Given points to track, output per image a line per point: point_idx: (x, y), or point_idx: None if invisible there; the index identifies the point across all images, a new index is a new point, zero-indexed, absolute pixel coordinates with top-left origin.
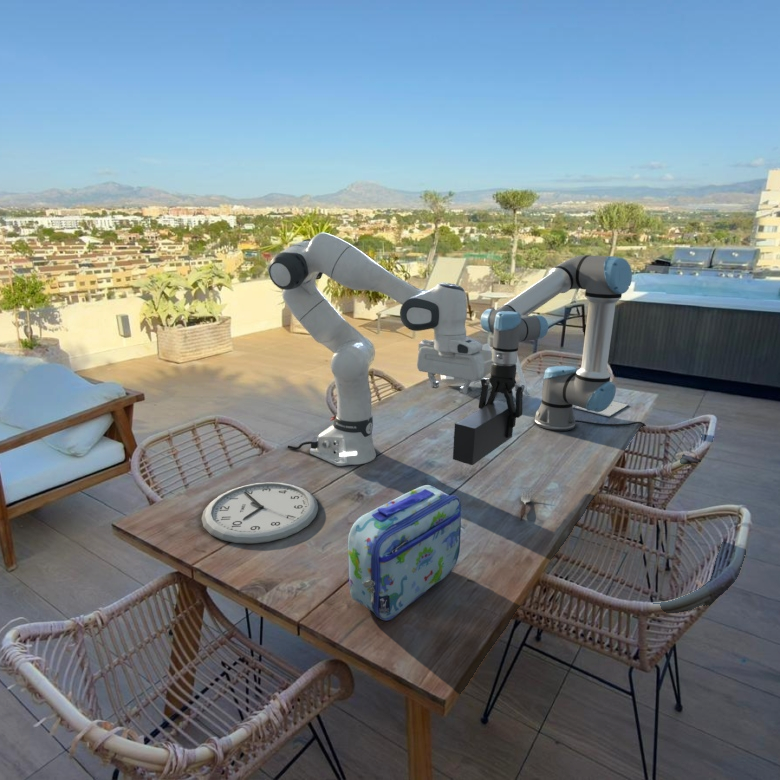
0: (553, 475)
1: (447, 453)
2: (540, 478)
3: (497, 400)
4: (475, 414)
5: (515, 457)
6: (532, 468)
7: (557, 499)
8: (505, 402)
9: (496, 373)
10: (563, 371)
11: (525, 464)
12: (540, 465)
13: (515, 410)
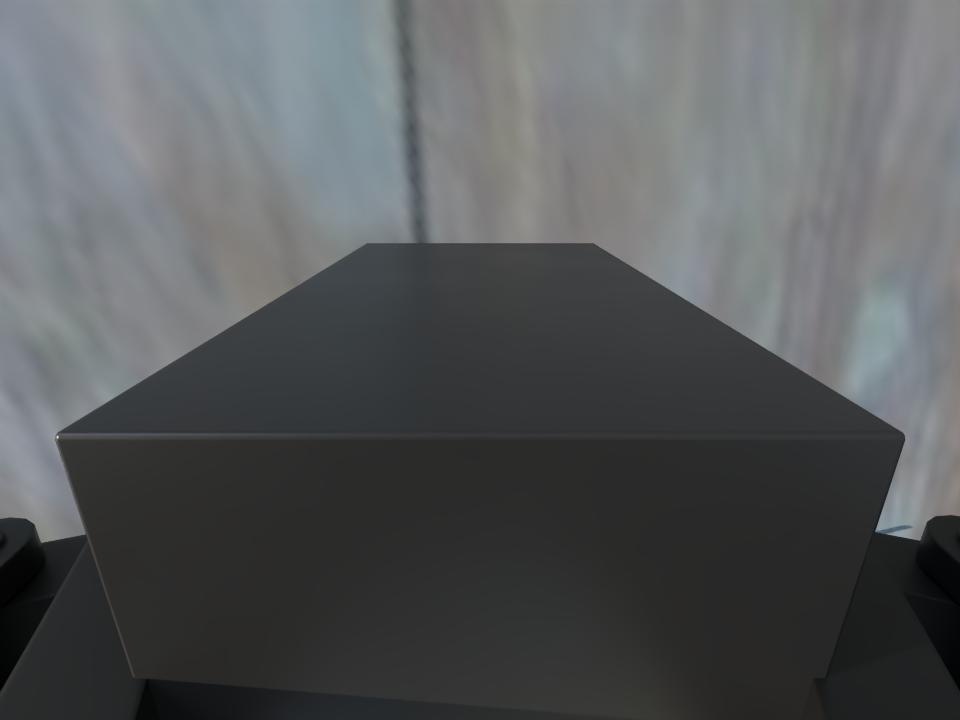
0: (867, 194)
1: (137, 334)
2: (792, 294)
3: (107, 441)
4: None
5: (542, 66)
6: (712, 180)
7: (916, 466)
8: (489, 467)
9: None
10: None
11: (649, 146)
12: (754, 85)
13: (897, 613)
